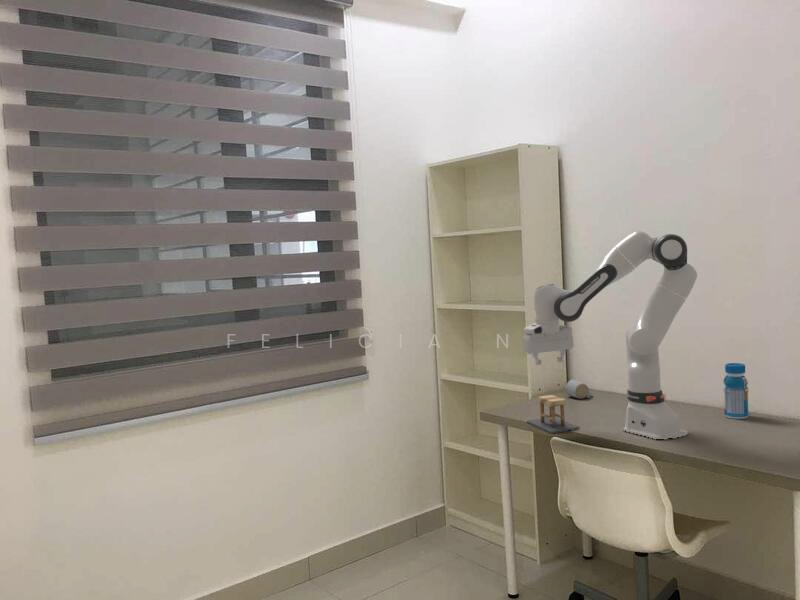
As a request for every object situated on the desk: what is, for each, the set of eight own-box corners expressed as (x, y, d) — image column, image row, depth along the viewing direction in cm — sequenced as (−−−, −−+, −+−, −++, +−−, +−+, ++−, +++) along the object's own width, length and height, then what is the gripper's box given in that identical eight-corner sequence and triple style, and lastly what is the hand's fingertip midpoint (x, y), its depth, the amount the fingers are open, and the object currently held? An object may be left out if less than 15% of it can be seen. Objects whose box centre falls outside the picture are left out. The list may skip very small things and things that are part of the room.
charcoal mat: (579, 429, 240) (579, 427, 240) (551, 433, 236) (550, 431, 236) (553, 418, 257) (553, 416, 257) (526, 422, 253) (526, 420, 253)
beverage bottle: (731, 420, 239) (730, 367, 238) (719, 414, 248) (718, 363, 246) (753, 418, 239) (752, 365, 238) (741, 413, 248) (739, 361, 246)
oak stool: (539, 421, 250) (537, 396, 250) (552, 419, 252) (551, 394, 251) (552, 427, 241) (551, 401, 240) (566, 425, 242) (565, 399, 242)
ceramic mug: (576, 400, 285) (576, 383, 284) (565, 397, 292) (565, 380, 292) (596, 397, 288) (595, 380, 288) (585, 394, 296) (584, 377, 296)
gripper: (566, 323, 250) (568, 358, 251) (519, 329, 244) (521, 365, 245) (575, 325, 244) (577, 361, 245) (528, 330, 238) (530, 367, 239)
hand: (549, 363), depth 245 cm, fingers open, 8 cm apart
